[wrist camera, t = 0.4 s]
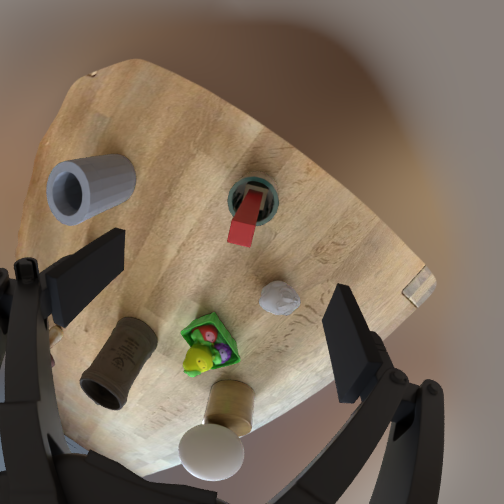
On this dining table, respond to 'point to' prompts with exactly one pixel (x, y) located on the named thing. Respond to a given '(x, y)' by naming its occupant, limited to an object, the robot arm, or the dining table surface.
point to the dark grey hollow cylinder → (119, 363)
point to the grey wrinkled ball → (279, 298)
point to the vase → (89, 186)
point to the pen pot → (271, 199)
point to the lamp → (219, 432)
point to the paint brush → (247, 214)
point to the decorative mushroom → (54, 339)
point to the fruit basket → (208, 345)
